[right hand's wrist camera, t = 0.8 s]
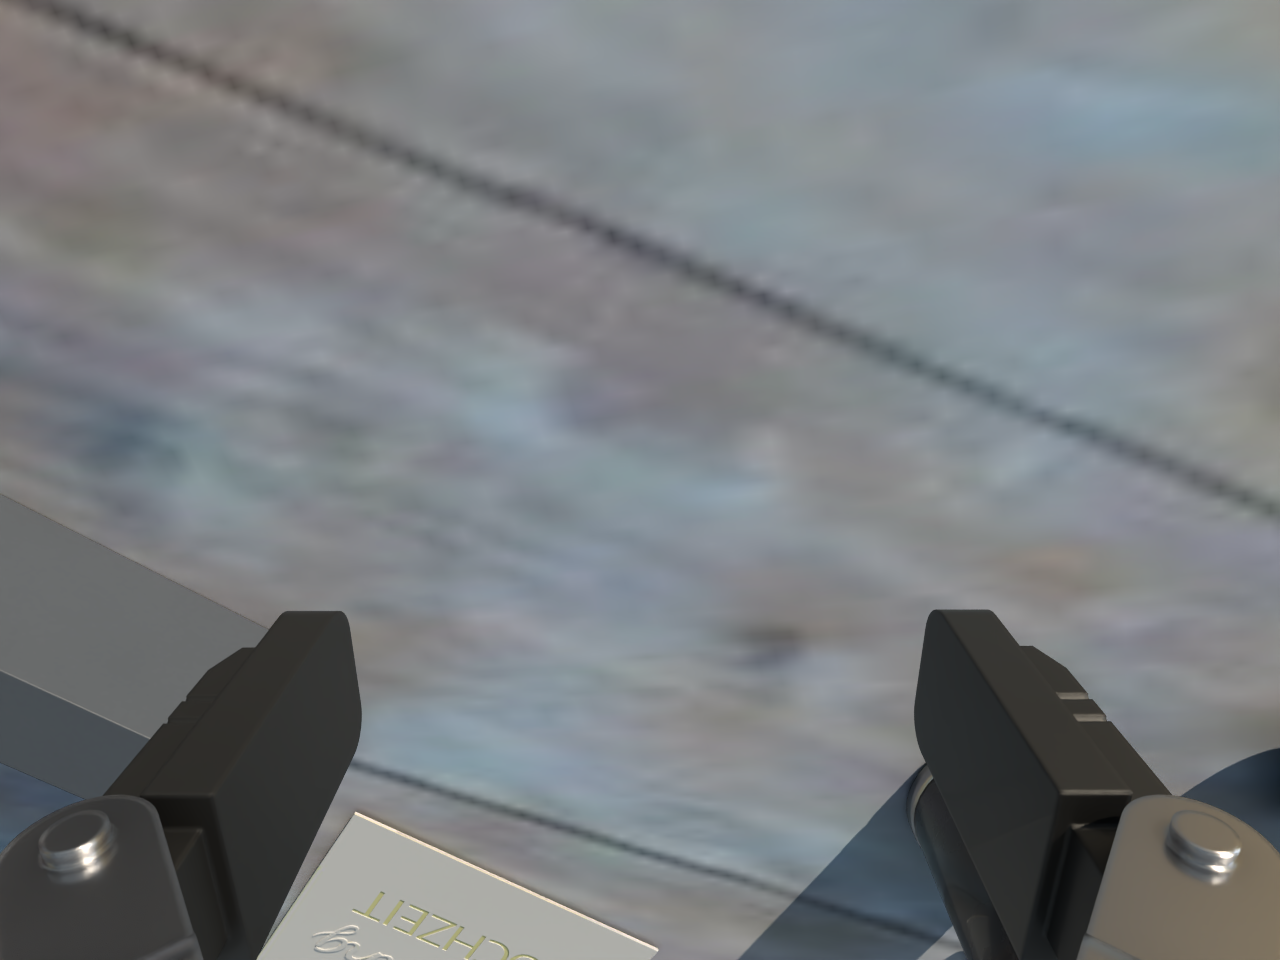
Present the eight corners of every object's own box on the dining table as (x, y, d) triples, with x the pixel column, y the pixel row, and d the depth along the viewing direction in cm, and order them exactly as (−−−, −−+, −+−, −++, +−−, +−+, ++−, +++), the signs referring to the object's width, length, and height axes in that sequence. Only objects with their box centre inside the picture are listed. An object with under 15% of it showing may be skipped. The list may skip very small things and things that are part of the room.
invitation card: (657, 952, 53) (538, 1081, 58) (657, 948, 53) (538, 1077, 58) (354, 815, 48) (250, 967, 53) (355, 811, 49) (252, 963, 53)
